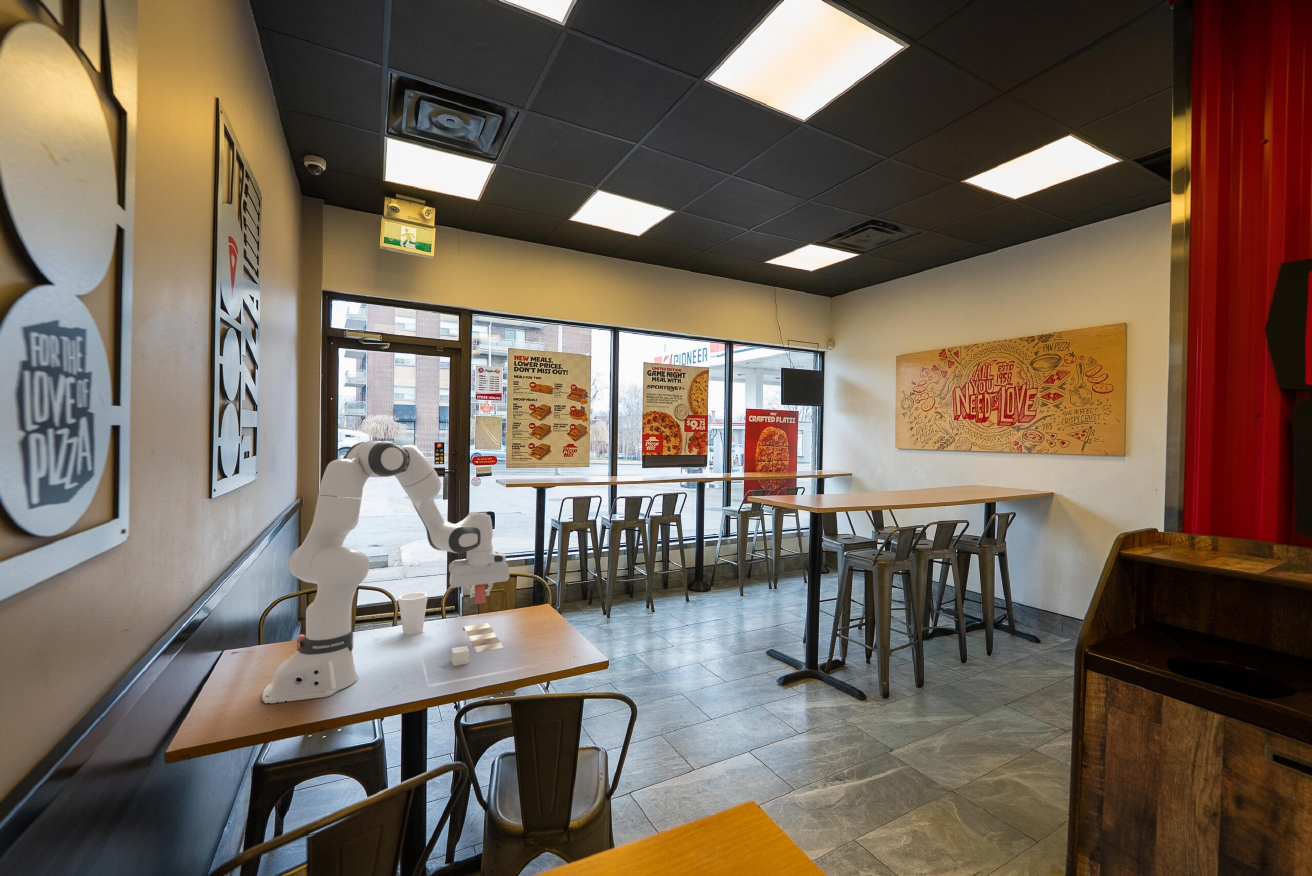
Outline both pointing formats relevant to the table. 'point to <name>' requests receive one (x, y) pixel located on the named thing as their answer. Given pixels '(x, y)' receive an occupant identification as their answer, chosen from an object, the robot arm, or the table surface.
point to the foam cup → (412, 612)
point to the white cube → (460, 655)
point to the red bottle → (480, 593)
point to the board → (483, 637)
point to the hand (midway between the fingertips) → (480, 596)
